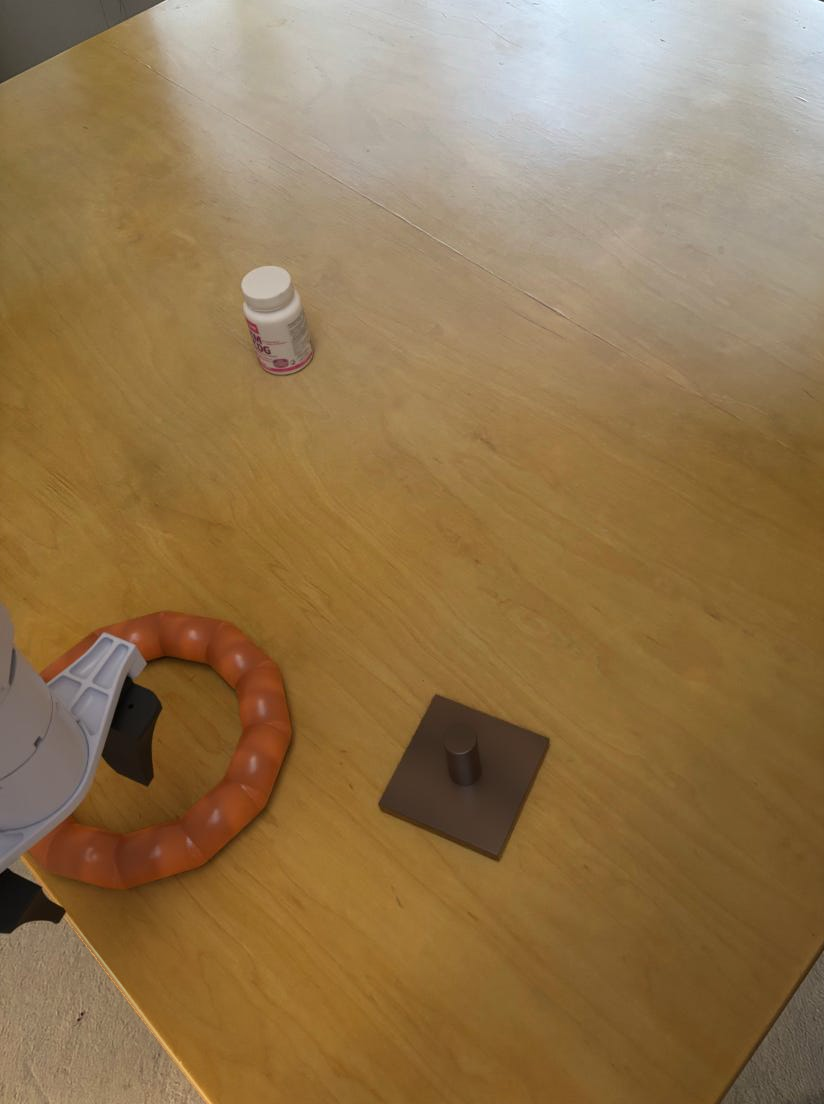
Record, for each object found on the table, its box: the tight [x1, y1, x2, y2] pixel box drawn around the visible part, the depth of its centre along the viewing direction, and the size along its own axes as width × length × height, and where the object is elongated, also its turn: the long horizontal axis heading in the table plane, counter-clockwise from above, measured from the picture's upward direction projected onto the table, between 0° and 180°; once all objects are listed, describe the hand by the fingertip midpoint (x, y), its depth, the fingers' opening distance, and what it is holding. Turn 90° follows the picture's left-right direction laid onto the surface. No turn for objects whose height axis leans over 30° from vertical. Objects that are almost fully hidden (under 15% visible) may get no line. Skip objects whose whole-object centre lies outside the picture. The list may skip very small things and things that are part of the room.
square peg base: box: [377, 693, 551, 862], centre depth 65 cm, size 8×8×6 cm
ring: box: [27, 609, 293, 891], centre depth 68 cm, size 18×18×3 cm
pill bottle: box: [240, 265, 314, 376], centre depth 88 cm, size 5×5×8 cm
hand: (93, 839), depth 56 cm, fingers open, 7 cm apart
